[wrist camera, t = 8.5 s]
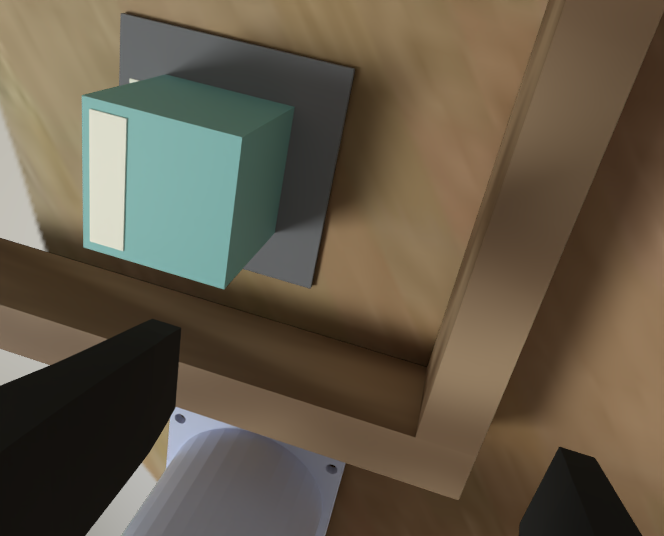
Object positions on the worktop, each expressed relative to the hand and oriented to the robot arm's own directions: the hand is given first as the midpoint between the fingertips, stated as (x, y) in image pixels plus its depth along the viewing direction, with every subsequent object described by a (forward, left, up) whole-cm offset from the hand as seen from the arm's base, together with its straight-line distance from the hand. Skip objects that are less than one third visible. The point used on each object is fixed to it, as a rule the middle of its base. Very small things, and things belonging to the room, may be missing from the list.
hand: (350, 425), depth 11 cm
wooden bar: (-6, +7, -10) cm, 14 cm away
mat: (+1, +7, -10) cm, 13 cm away
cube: (+1, +7, -10) cm, 12 cm away
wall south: (+2, -3, -10) cm, 11 cm away
